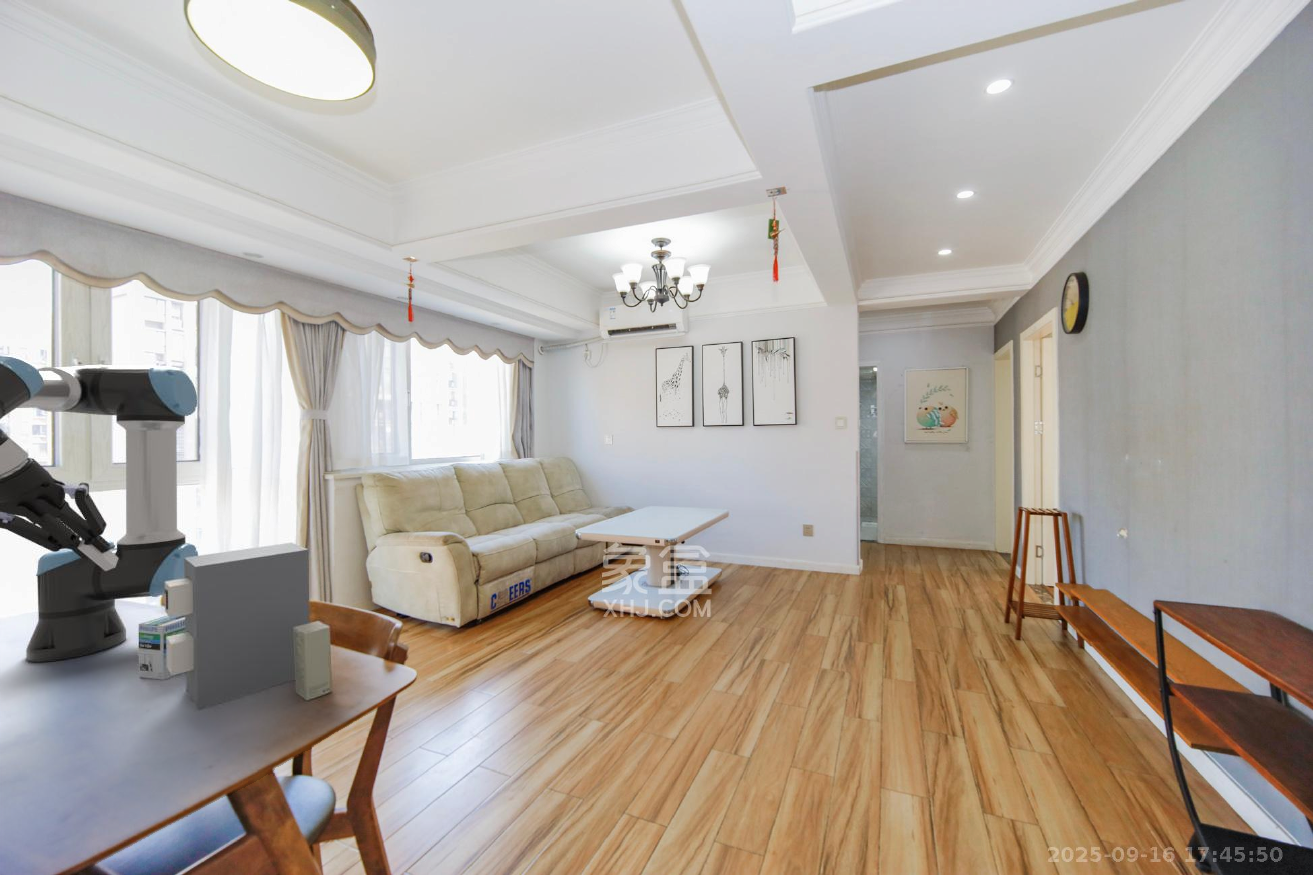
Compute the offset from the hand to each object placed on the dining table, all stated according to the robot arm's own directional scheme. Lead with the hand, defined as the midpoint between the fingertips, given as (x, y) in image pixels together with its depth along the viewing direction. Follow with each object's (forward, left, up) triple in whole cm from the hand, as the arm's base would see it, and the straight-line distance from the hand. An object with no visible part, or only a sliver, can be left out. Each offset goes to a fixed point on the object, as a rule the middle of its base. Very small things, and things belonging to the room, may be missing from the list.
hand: (112, 564), depth 97 cm
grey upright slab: (+16, +18, -24) cm, 34 cm away
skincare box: (+30, +24, -24) cm, 45 cm away
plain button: (+16, +9, -18) cm, 25 cm away
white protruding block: (+16, +9, -8) cm, 20 cm away
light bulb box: (-4, +10, -24) cm, 26 cm away
